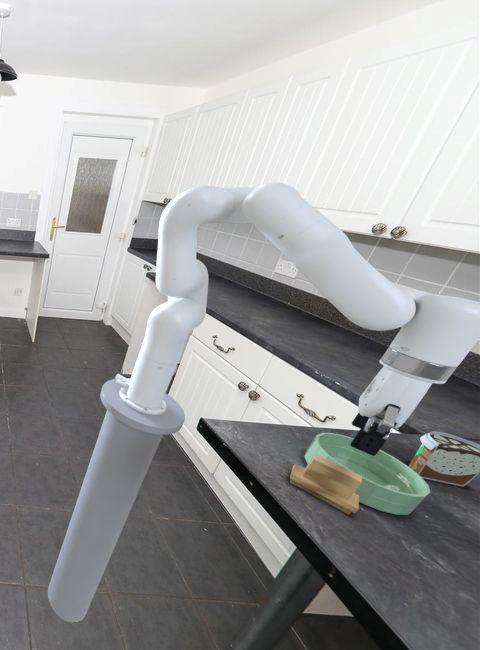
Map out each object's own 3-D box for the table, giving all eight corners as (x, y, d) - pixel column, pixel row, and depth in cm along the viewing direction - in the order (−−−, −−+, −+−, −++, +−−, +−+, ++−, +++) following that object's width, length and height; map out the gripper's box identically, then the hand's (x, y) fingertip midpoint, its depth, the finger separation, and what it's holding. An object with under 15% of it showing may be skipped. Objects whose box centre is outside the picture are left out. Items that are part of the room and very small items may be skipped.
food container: (442, 467, 82) (470, 436, 78) (471, 488, 76) (503, 456, 73) (384, 455, 84) (408, 424, 80) (408, 475, 78) (436, 443, 74)
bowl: (299, 473, 75) (312, 453, 73) (307, 440, 86) (319, 423, 84) (415, 533, 64) (435, 513, 62) (407, 487, 75) (424, 468, 72)
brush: (287, 482, 73) (303, 457, 70) (290, 471, 76) (306, 446, 73) (351, 517, 66) (373, 491, 63) (352, 503, 69) (373, 478, 66)
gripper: (381, 343, 66) (337, 411, 73) (385, 369, 55) (332, 446, 62) (442, 360, 61) (388, 432, 68) (459, 392, 50) (393, 474, 57)
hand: (361, 438), depth 65 cm, fingers open, 9 cm apart
